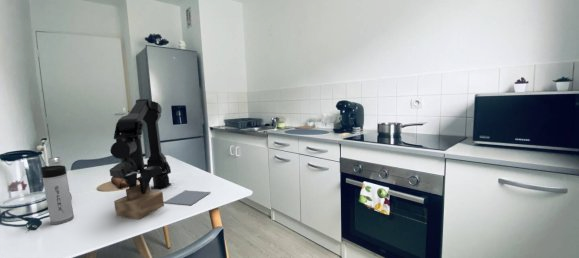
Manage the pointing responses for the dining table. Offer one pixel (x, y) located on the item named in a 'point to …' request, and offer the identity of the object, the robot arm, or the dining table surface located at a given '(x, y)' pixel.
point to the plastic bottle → (55, 162)
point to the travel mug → (57, 194)
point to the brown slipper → (119, 182)
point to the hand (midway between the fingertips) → (138, 193)
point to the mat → (187, 197)
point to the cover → (138, 203)
